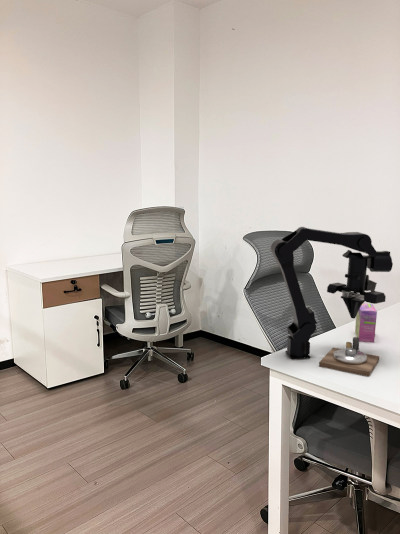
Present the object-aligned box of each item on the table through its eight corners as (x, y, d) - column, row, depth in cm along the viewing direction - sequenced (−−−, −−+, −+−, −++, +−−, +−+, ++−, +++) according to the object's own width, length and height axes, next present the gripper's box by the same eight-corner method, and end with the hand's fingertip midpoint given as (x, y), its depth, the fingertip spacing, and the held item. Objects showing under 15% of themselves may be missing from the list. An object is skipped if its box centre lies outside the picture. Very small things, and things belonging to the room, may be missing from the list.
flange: (362, 366, 142) (363, 351, 141) (329, 360, 147) (330, 345, 146) (371, 354, 152) (372, 340, 151) (340, 348, 157) (341, 334, 156)
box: (374, 342, 168) (377, 311, 166) (358, 341, 169) (360, 310, 167) (370, 333, 178) (372, 303, 176) (354, 332, 179) (356, 302, 177)
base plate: (368, 376, 139) (370, 362, 138) (319, 366, 146) (319, 352, 146) (379, 360, 151) (380, 347, 150) (332, 351, 159) (333, 339, 158)
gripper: (397, 274, 149) (392, 321, 151) (348, 265, 163) (344, 308, 166) (377, 277, 142) (372, 327, 145) (327, 267, 157) (324, 312, 160)
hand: (353, 318), depth 154 cm, fingers closed
